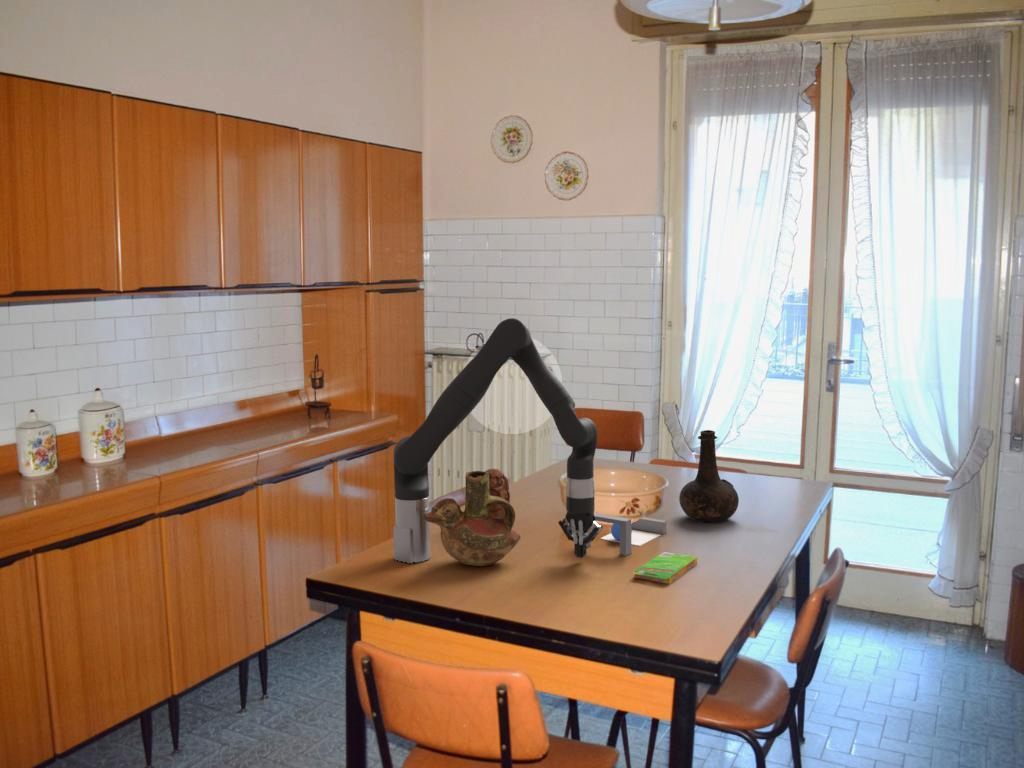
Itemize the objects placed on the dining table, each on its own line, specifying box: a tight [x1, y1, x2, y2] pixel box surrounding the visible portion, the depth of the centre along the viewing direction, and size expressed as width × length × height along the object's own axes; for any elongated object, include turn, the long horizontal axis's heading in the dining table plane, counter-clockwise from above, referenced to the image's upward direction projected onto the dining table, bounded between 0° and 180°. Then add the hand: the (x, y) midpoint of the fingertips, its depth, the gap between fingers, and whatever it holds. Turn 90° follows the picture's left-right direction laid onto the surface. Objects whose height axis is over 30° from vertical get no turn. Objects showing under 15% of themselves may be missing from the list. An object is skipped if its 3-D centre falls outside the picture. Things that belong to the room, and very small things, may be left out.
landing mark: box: [599, 529, 662, 547], centre depth 271 cm, size 13×13×1 cm
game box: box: [632, 551, 698, 585], centre depth 240 cm, size 3×10×20 cm
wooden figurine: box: [484, 468, 511, 518], centre depth 282 cm, size 12×6×18 cm, turn 143°
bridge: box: [586, 512, 632, 557], centre depth 258 cm, size 3×15×10 cm, turn 54°
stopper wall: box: [631, 516, 667, 535], centre depth 278 cm, size 2×13×4 cm, turn 54°
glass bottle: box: [678, 429, 739, 524], centre depth 287 cm, size 18×18×28 cm
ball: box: [610, 523, 633, 541], centre depth 267 cm, size 6×6×6 cm
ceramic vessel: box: [424, 470, 521, 567], centre depth 246 cm, size 17×26×25 cm, turn 105°
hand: (580, 556), depth 248 cm, fingers closed
